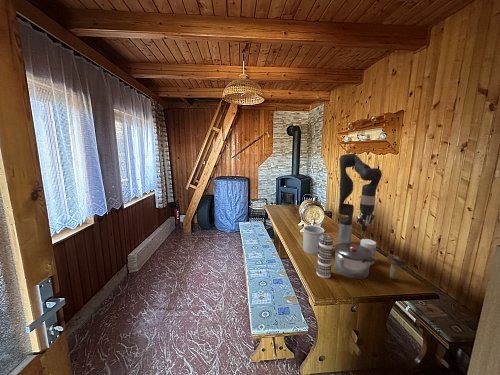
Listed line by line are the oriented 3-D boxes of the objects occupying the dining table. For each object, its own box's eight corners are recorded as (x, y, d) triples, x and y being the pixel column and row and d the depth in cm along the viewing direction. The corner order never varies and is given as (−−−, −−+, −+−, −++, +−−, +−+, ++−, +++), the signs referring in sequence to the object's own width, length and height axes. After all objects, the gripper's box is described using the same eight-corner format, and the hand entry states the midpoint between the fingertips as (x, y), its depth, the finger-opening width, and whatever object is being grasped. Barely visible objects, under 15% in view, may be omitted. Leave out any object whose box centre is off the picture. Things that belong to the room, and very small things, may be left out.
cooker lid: (351, 242, 150) (351, 237, 149) (383, 257, 129) (384, 253, 128) (327, 247, 142) (328, 243, 141) (358, 265, 121) (359, 260, 120)
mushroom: (380, 275, 133) (383, 252, 130) (393, 275, 133) (397, 252, 130) (391, 285, 123) (395, 261, 120) (406, 284, 124) (410, 260, 121)
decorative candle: (319, 268, 140) (321, 231, 135) (333, 273, 134) (337, 235, 129) (313, 274, 133) (316, 236, 128) (328, 280, 127) (331, 240, 122)
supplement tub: (375, 266, 143) (378, 245, 140) (359, 263, 146) (362, 243, 143) (372, 259, 152) (374, 239, 149) (357, 257, 155) (359, 237, 152)
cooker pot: (348, 258, 152) (350, 242, 150) (375, 274, 134) (378, 256, 132) (326, 264, 144) (328, 247, 142) (352, 282, 126) (354, 263, 123)
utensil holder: (323, 256, 155) (325, 233, 151) (302, 254, 158) (303, 231, 154) (321, 247, 169) (323, 226, 166) (301, 245, 172) (303, 224, 168)
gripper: (369, 200, 131) (366, 227, 134) (353, 202, 125) (350, 230, 129) (381, 203, 124) (377, 231, 127) (365, 205, 119) (361, 235, 122)
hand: (364, 231), depth 128 cm, fingers closed
